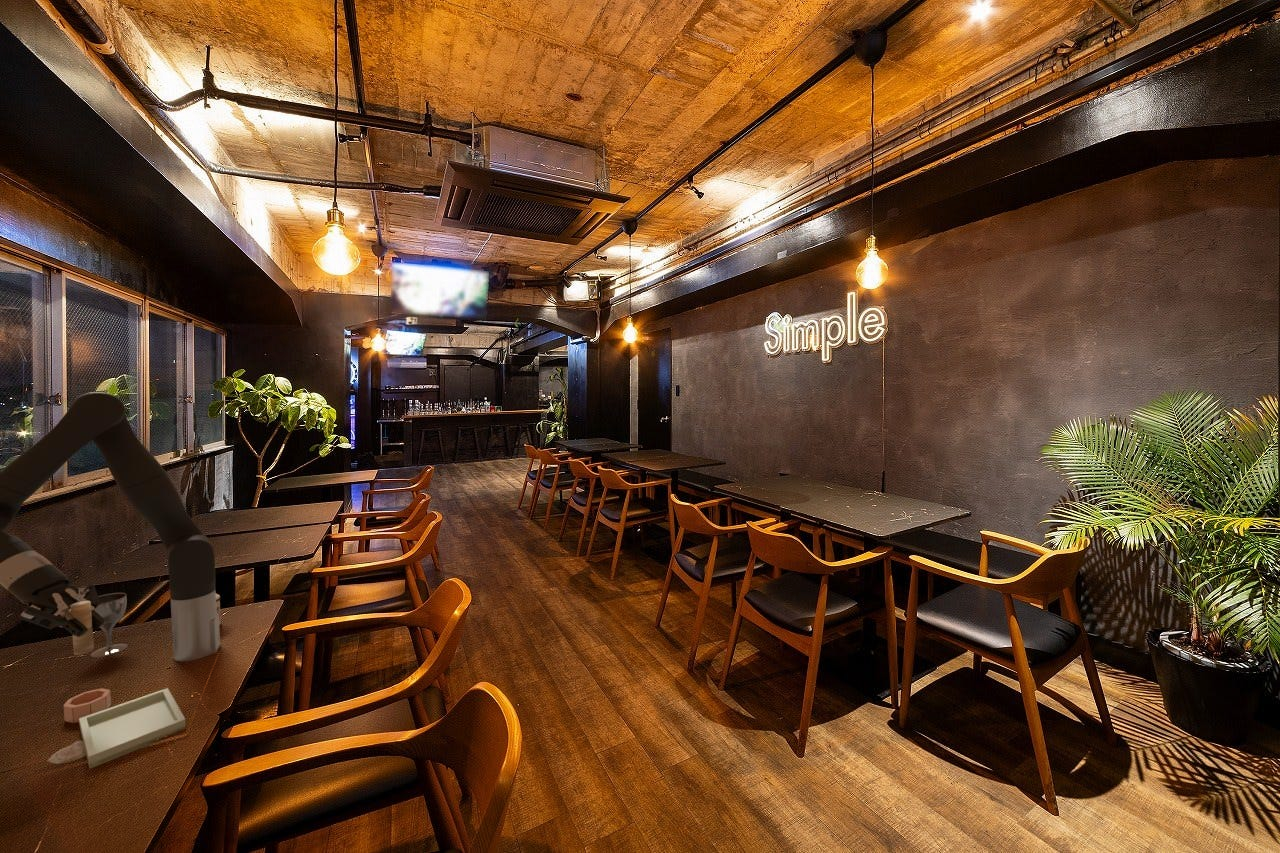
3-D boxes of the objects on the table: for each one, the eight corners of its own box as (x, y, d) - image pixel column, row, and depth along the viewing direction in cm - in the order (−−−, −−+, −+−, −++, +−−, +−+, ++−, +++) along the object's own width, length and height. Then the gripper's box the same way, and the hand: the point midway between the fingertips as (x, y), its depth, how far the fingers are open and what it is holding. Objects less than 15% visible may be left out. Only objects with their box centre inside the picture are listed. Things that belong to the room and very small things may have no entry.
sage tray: (79, 729, 107) (79, 718, 107) (168, 697, 118) (167, 687, 118) (89, 768, 96) (88, 756, 96) (185, 730, 107) (185, 719, 107)
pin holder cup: (114, 702, 116) (113, 685, 116) (104, 717, 111) (102, 700, 110) (73, 711, 113) (72, 694, 113) (60, 728, 107) (59, 710, 107)
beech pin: (96, 646, 113) (92, 599, 112) (91, 652, 110) (87, 604, 109) (77, 650, 111) (73, 602, 110) (71, 656, 109) (67, 607, 108)
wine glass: (126, 640, 144) (123, 590, 143) (132, 648, 140) (129, 597, 139) (86, 652, 138) (82, 599, 137) (90, 661, 133) (86, 607, 132)
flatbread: (100, 734, 106) (100, 730, 106) (113, 747, 102) (112, 742, 102) (42, 758, 99) (41, 754, 99) (53, 773, 95) (52, 768, 95)
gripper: (2, 576, 102) (69, 633, 103) (76, 554, 116) (134, 604, 117) (-23, 602, 102) (44, 658, 103) (54, 576, 116) (113, 626, 117)
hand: (92, 629), depth 110 cm, fingers closed on beech pin, 3 cm apart
